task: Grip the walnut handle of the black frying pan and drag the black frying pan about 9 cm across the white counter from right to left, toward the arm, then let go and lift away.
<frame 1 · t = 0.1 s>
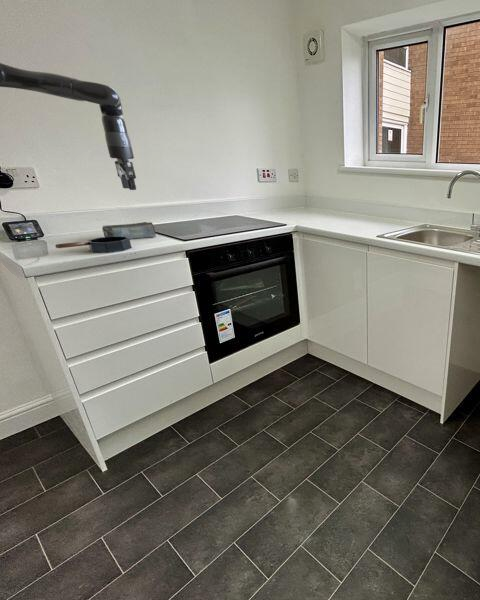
hand: (129, 189, 141), 23 cm above the countertop, tool pointing down, fingers open, 8 cm apart
black frying pan: (111, 249, 143), on the countertop
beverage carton: (131, 238, 163), on the countertop
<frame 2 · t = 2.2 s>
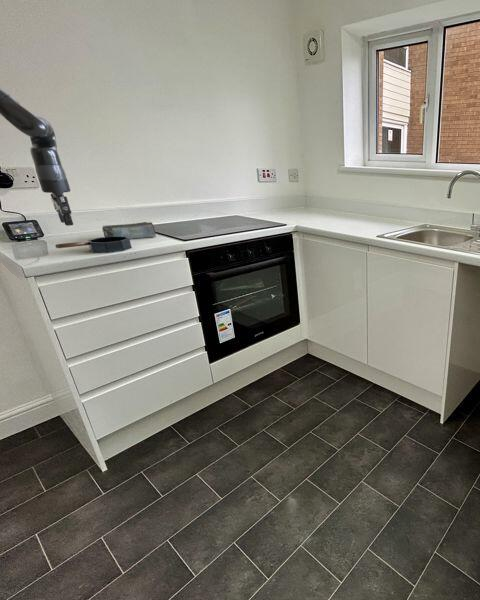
hand: (67, 223, 131), 11 cm above the countertop, tool pointing down, fingers open, 8 cm apart
nothing on the countertop moved.
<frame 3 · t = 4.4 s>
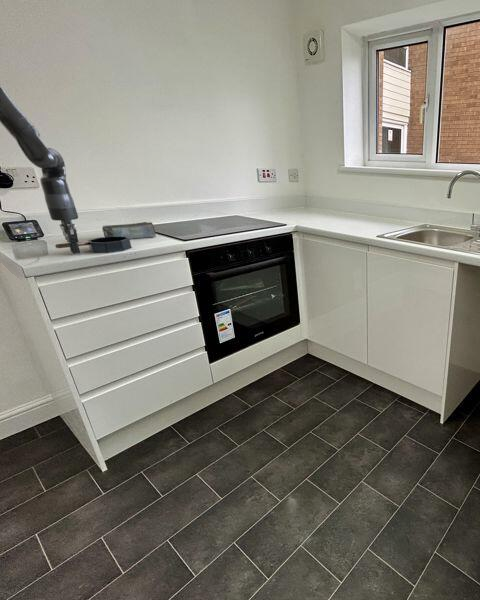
hand: (75, 252, 135), 1 cm above the countertop, tool pointing down, fingers closed on black frying pan
black frying pan: (111, 249, 143), on the countertop, touching gripper
everything else where it was.
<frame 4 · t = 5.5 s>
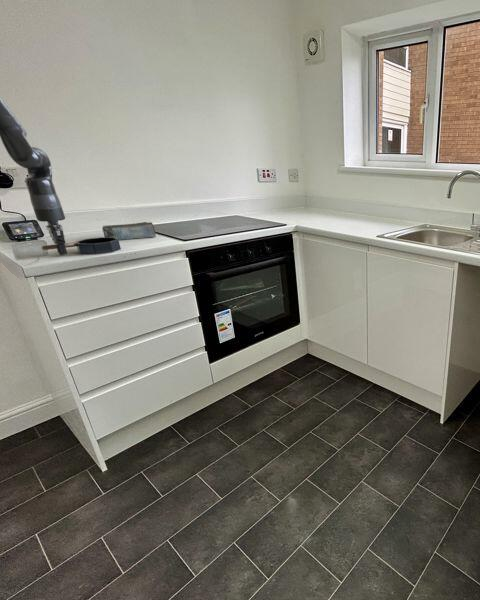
hand: (63, 253, 132), 1 cm above the countertop, tool pointing down, fingers closed on black frying pan
black frying pan: (100, 250, 140), on the countertop, touching gripper
everything else where it was.
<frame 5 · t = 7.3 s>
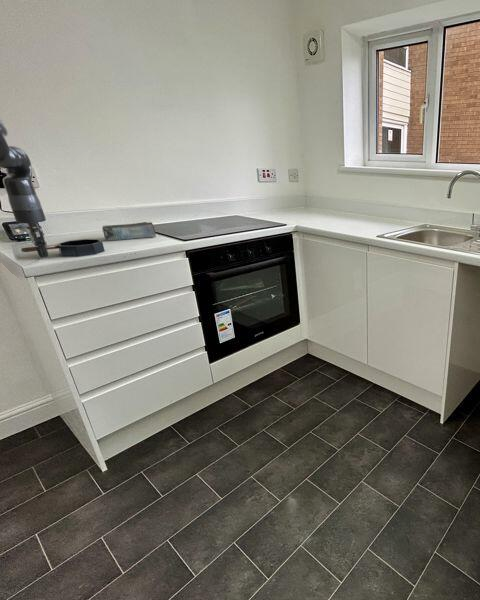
hand: (43, 255, 128), 1 cm above the countertop, tool pointing down, fingers closed
black frying pan: (83, 252, 137), on the countertop
everything else where it was.
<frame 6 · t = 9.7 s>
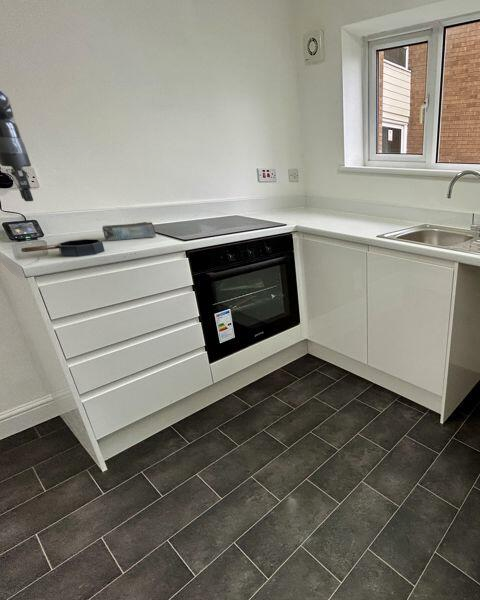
hand: (28, 200, 127), 20 cm above the countertop, tool pointing down, fingers open, 8 cm apart
nothing on the countertop moved.
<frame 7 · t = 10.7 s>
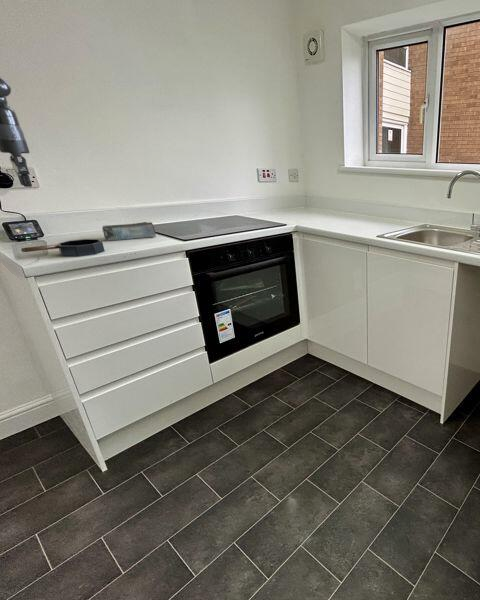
hand: (26, 186, 131), 24 cm above the countertop, tool pointing down, fingers open, 8 cm apart
nothing on the countertop moved.
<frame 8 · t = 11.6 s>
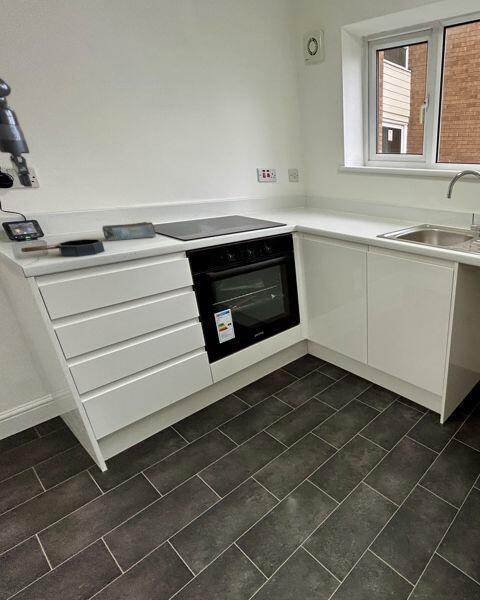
hand: (26, 186, 131), 24 cm above the countertop, tool pointing down, fingers open, 8 cm apart
nothing on the countertop moved.
at the end: black frying pan inside the target area (0.1 cm from its centre), on the countertop; black frying pan tilted 0°; the gripper is holding nothing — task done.
